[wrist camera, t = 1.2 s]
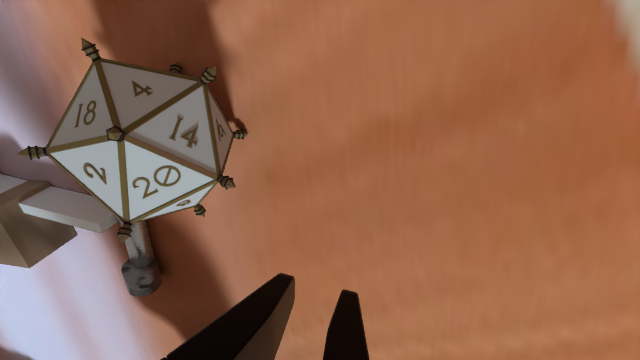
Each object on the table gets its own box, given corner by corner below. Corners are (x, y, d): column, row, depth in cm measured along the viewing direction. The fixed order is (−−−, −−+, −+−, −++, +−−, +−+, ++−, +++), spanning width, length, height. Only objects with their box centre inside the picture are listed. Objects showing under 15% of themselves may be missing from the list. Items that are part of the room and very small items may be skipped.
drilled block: (77, 235, 29) (28, 269, 25) (34, 230, 30) (-18, 262, 27) (48, 181, 26) (-10, 210, 23) (4, 179, 28) (-57, 206, 24)
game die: (238, 70, 22) (224, -5, 12) (259, 202, 22) (261, 232, 13) (84, 85, 20) (-73, 13, 11) (111, 226, 21) (-14, 281, 11)
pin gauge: (168, 277, 28) (147, 300, 26) (142, 270, 28) (120, 291, 26) (148, 192, 24) (122, 211, 22) (119, 185, 24) (91, 203, 22)
